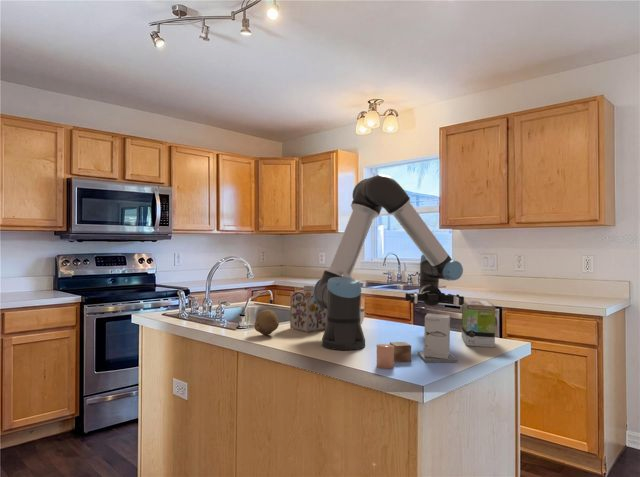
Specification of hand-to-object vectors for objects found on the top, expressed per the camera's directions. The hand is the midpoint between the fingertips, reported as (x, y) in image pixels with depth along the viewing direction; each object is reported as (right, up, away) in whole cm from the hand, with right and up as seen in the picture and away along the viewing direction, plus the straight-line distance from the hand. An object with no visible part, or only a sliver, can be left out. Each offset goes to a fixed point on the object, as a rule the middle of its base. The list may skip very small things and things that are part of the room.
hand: (436, 300), depth 150 cm
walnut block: (-15, -16, -13) cm, 26 cm away
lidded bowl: (-27, -17, +37) cm, 49 cm away
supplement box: (-3, -16, -11) cm, 20 cm away
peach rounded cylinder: (-21, -16, -21) cm, 34 cm away
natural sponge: (-60, -17, +21) cm, 65 cm away
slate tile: (-3, -16, -11) cm, 20 cm away
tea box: (+19, -17, +14) cm, 29 cm away
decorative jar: (-44, -17, +36) cm, 59 cm away
